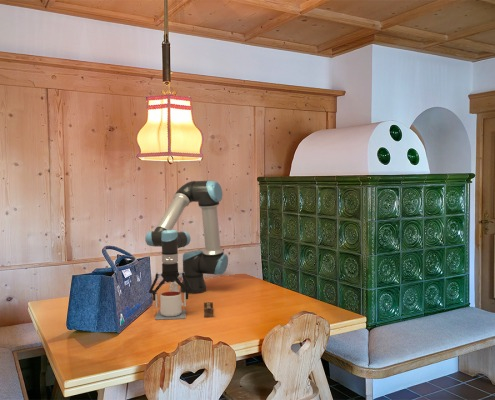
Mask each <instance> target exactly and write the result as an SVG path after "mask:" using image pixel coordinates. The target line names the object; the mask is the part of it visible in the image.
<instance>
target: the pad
mask: <svg viewBox="0 0 495 400" xmlns="http://www.w3.org/2000/svg"><path fill="white" fill-rule="evenodd" d="M186 316H187V309H182V312H181V314H180V315H177V316H173V317H166V316H163V315H162V314H161V310H157V312H156V315H155V318H154V321H168V320H185V319H186Z"/></svg>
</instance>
